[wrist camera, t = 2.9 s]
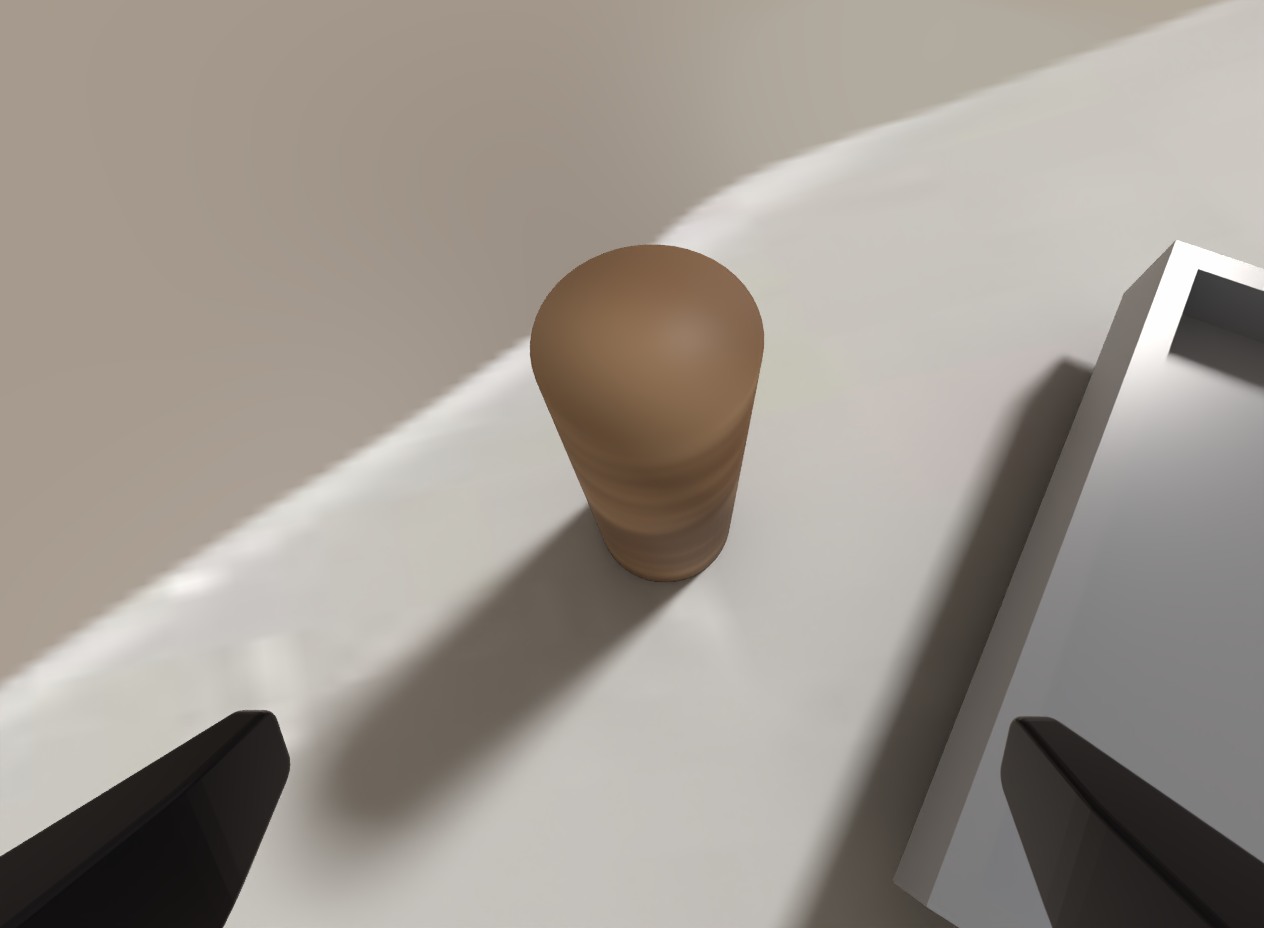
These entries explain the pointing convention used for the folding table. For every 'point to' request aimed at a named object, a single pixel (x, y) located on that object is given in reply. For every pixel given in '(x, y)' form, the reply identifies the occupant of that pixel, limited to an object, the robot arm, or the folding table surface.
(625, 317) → the walnut part
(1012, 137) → the folding table surface
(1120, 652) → the parts tray
